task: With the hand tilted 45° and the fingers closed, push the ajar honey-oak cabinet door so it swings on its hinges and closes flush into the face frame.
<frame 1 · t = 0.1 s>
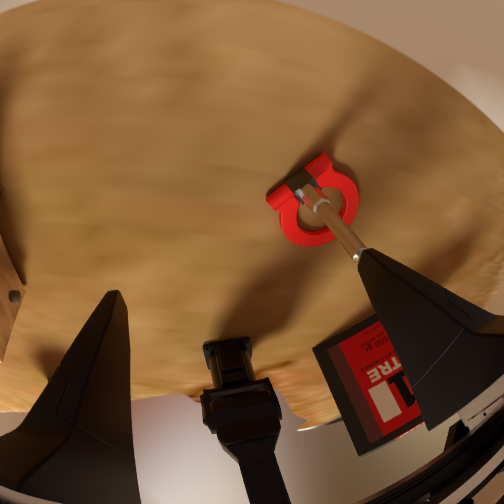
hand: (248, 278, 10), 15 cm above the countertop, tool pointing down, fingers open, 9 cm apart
tow hook: (315, 203, 27), on the countertop
cleaning product box: (358, 334, 46), on the countertop
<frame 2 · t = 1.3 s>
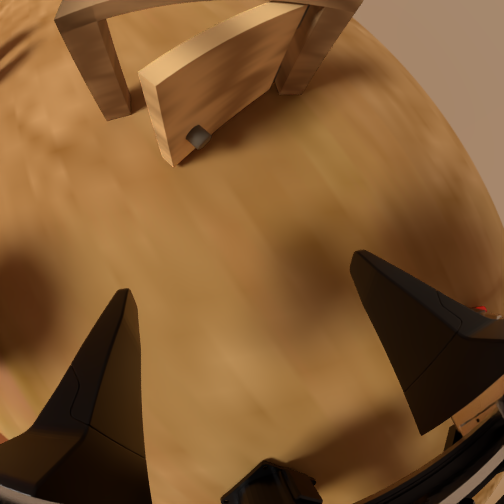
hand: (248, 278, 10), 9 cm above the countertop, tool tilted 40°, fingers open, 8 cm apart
door: (236, 81, 14), point 5 cm above the countertop, hinge at 35.0°
frame: (265, 85, 20), on the countertop
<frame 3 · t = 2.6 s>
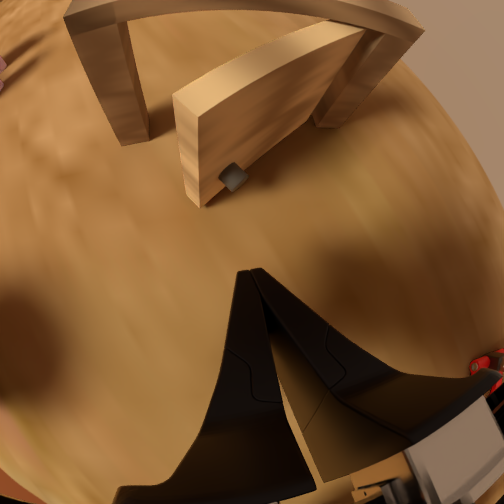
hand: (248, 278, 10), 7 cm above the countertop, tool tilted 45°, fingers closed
door: (281, 112, 13), point 5 cm above the countertop, hinge at 35.0°
frame: (301, 116, 19), on the countertop
tow hook: (477, 392, 20), on the countertop
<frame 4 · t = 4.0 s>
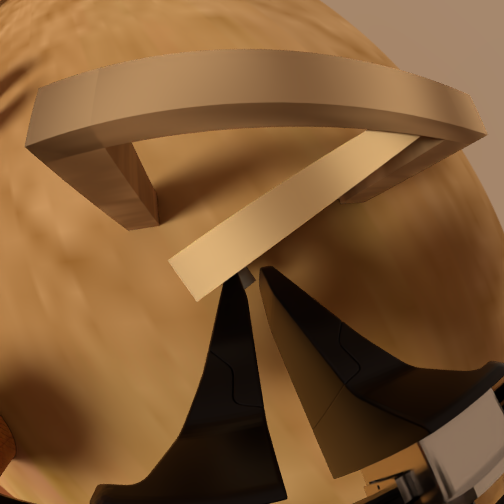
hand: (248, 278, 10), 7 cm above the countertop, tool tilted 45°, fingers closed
door: (302, 218, 12), point 5 cm above the countertop, hinge at 27.1°, touching gripper
frame: (325, 190, 18), on the countertop
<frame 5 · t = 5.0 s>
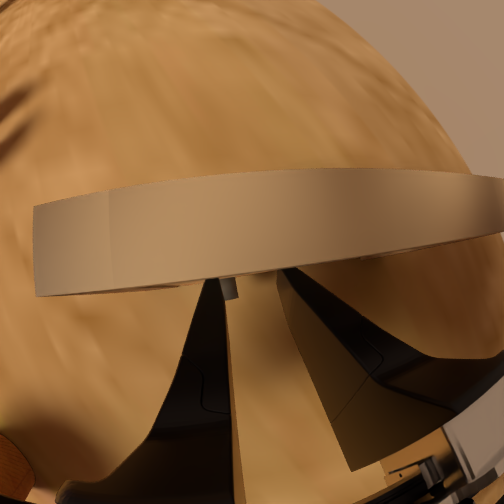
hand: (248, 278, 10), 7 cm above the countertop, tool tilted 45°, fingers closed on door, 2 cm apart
door: (306, 260, 12), point 5 cm above the countertop, hinge at 2.1°, touching gripper
frame: (347, 247, 18), on the countertop
disposable coffee cup: (10, 459, 12), on the countertop
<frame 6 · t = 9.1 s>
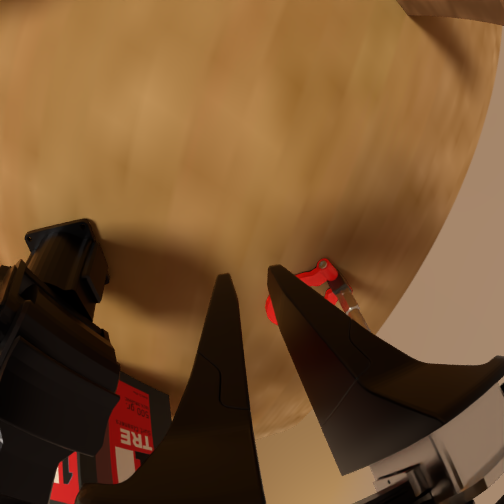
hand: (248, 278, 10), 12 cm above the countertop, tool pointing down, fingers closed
tow hook: (304, 294, 31), on the countertop
cleaning product box: (110, 383, 34), on the countertop
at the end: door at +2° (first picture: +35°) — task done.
